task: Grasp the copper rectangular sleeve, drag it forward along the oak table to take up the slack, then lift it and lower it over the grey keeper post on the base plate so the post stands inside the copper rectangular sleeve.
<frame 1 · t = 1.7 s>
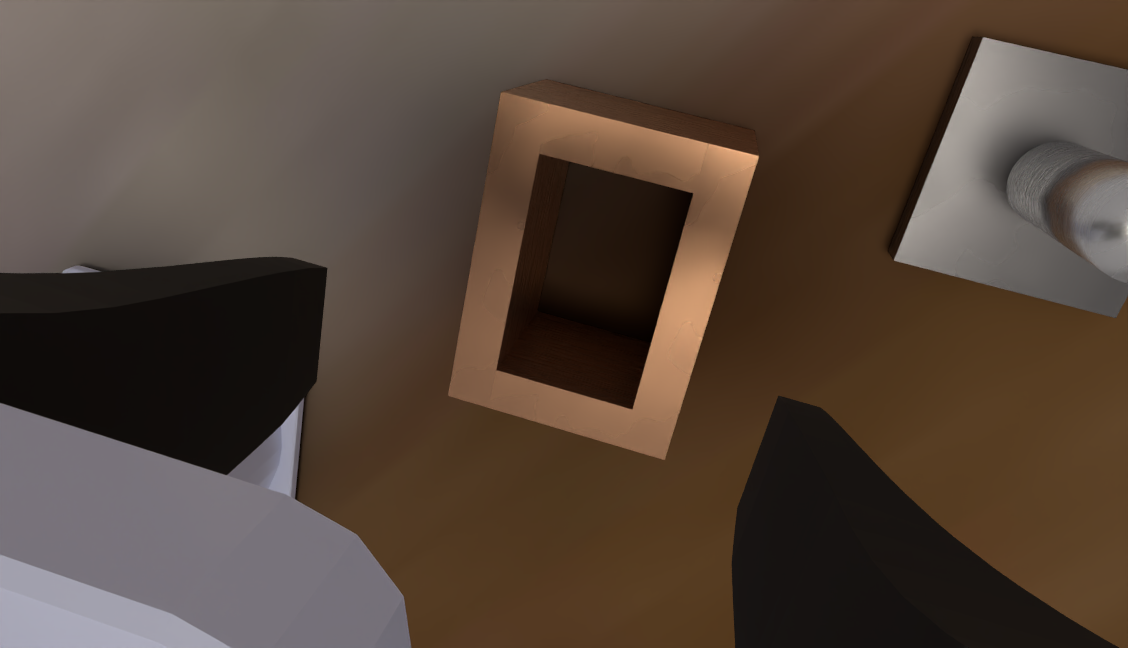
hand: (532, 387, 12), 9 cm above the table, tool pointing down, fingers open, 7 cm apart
copper rectangular sleeve: (615, 240, 20), on the table
keeper: (1039, 176, 18), on the table
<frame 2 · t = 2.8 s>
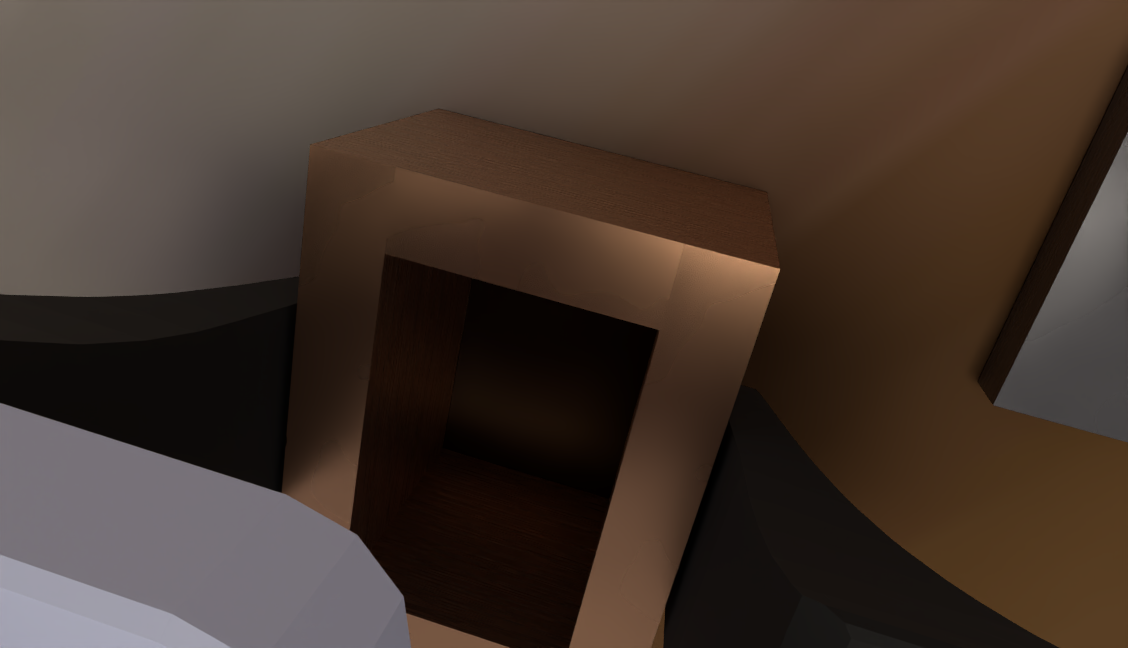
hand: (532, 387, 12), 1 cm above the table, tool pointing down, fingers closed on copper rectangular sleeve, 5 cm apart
copper rectangular sleeve: (552, 352, 13), on the table, touching gripper
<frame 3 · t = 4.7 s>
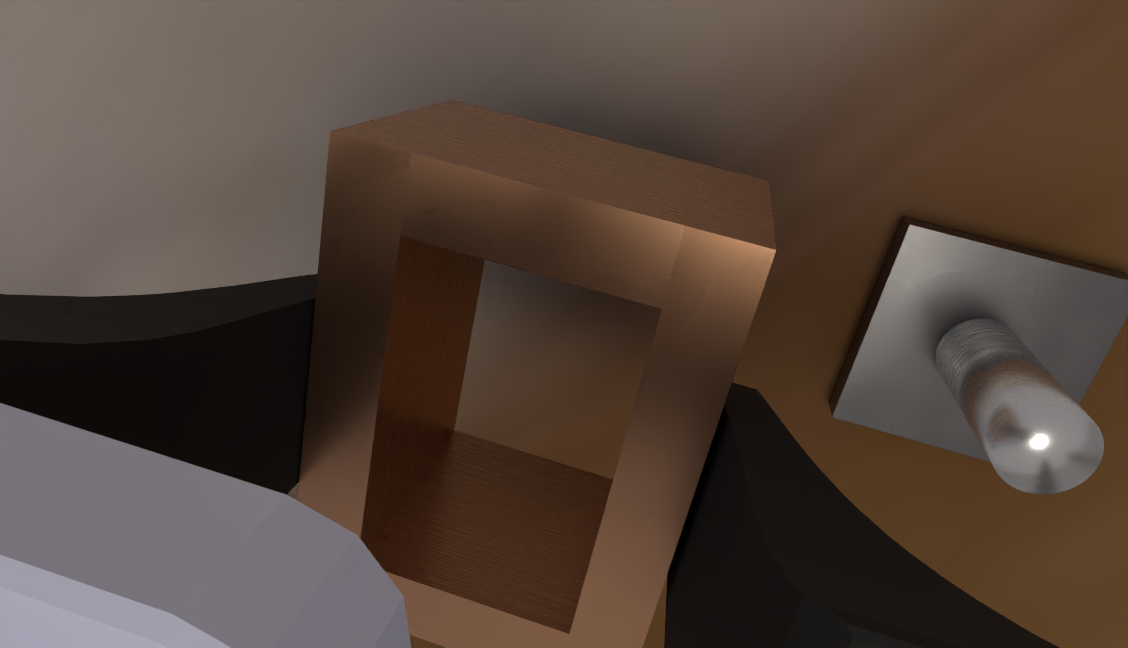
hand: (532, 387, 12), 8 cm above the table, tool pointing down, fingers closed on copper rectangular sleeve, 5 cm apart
copper rectangular sleeve: (560, 336, 14), point 6 cm above the table, touching gripper
keeper: (968, 342, 19), on the table
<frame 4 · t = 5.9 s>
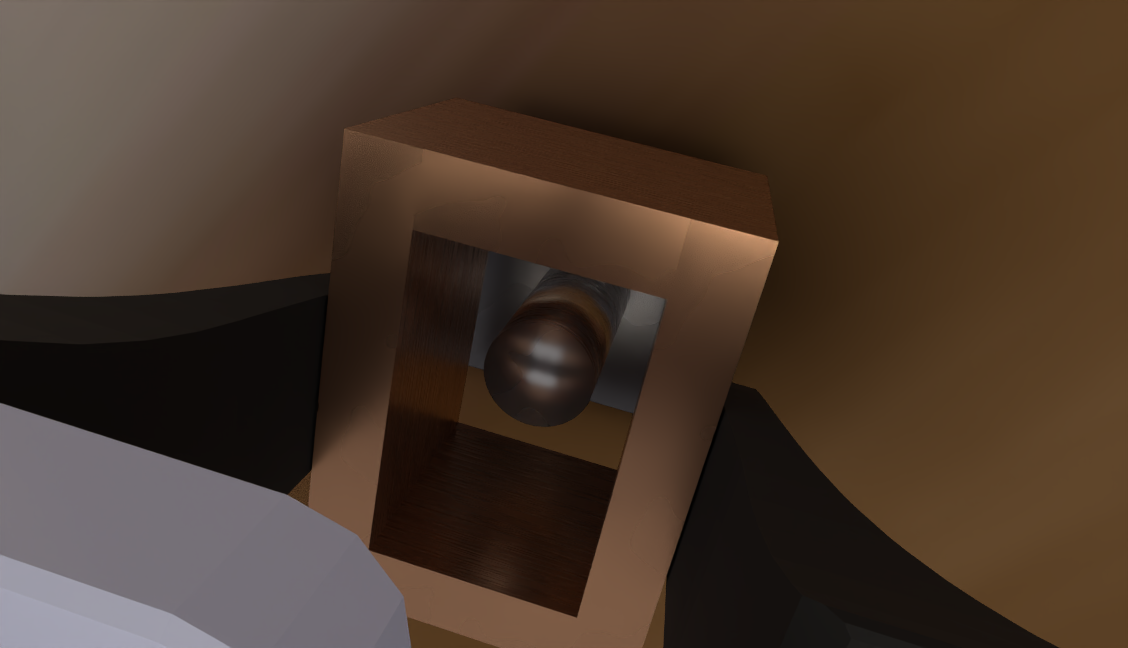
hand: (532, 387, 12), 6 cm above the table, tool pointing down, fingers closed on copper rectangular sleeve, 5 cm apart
copper rectangular sleeve: (563, 329, 14), point 3 cm above the table, touching gripper
keeper: (593, 278, 17), on the table
when the fingers open (4 cm above the table, at t = 6.8 s): copper rectangular sleeve stays where it is, resting on keeper.
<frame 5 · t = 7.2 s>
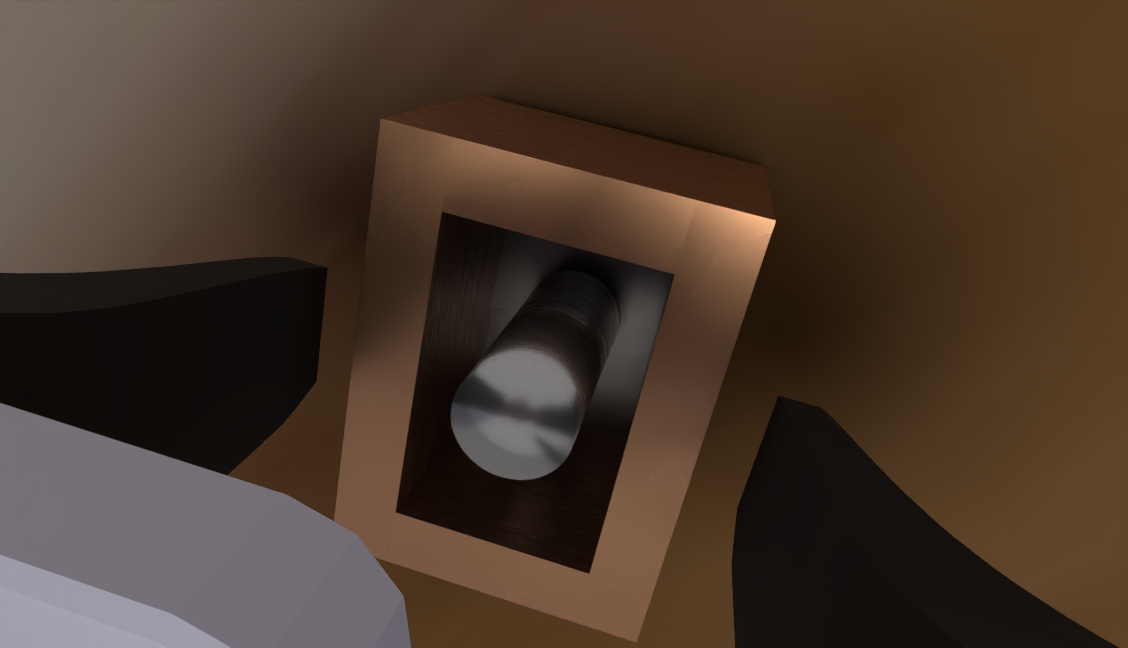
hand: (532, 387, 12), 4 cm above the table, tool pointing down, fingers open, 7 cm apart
copper rectangular sleeve: (574, 312, 15), point 1 cm above the table, touching keeper
keeper: (580, 302, 16), on the table
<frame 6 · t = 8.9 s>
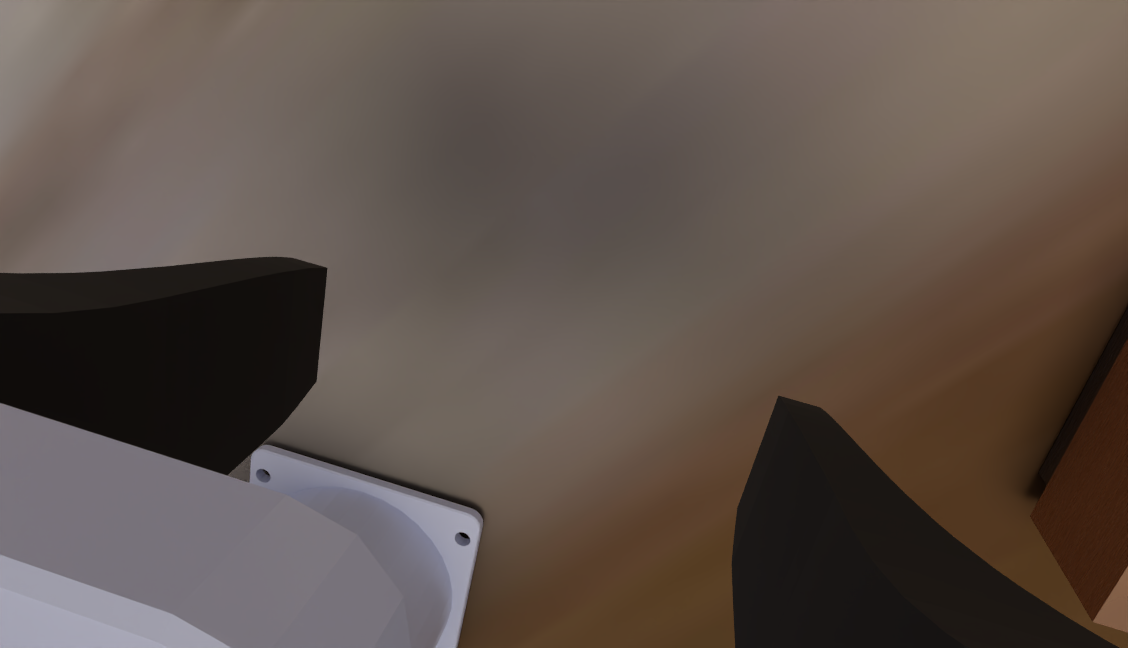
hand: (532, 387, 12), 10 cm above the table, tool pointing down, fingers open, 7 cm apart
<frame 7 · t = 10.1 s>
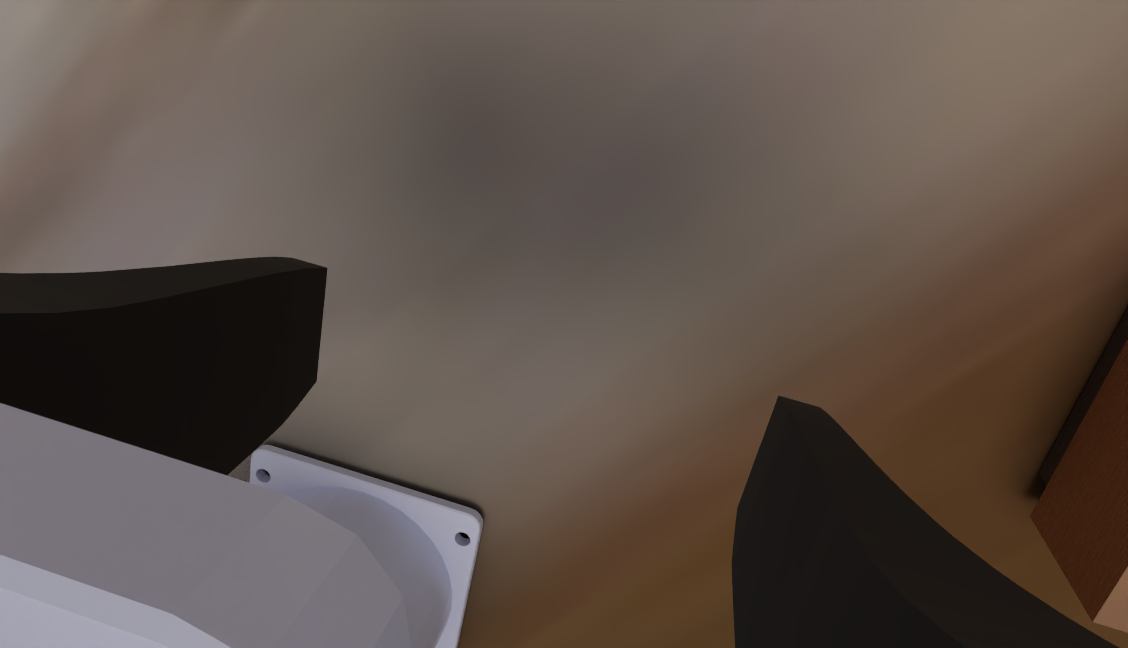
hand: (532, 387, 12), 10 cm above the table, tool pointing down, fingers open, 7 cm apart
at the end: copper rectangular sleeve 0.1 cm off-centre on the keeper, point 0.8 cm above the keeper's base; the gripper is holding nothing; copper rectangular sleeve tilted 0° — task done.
